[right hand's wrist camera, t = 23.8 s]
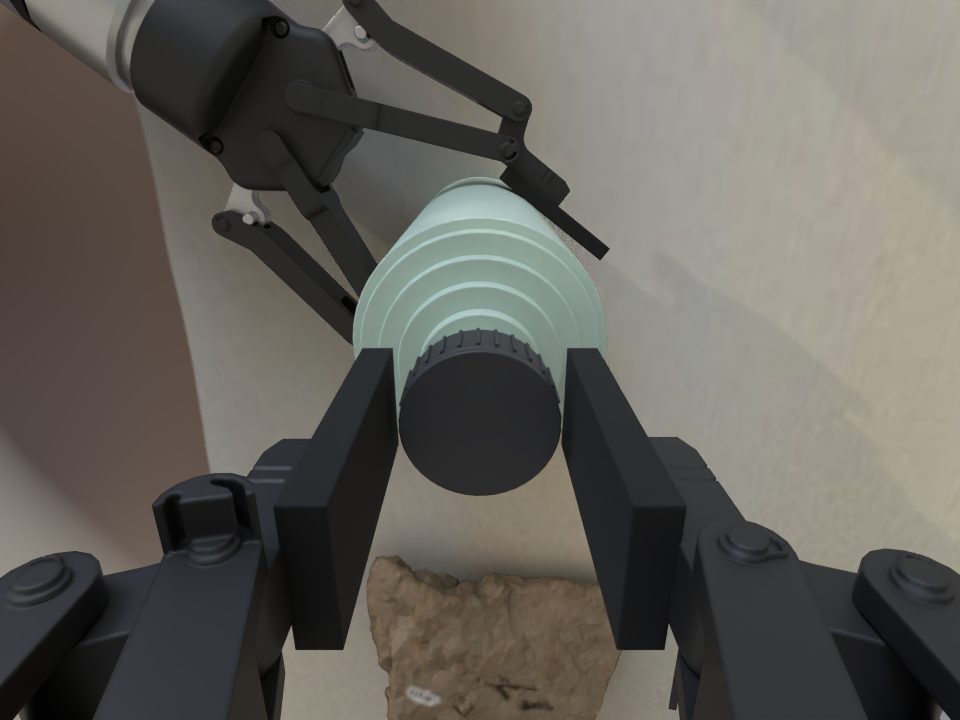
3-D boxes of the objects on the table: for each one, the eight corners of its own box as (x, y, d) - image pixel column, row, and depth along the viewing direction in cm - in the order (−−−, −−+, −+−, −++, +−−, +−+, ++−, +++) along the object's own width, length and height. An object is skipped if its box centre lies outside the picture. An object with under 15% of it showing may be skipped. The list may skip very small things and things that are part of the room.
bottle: (402, 281, 37) (281, 501, 15) (438, 158, 35) (357, 192, 12) (517, 318, 38) (572, 580, 16) (561, 201, 36) (706, 310, 13)
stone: (347, 707, 47) (345, 770, 41) (370, 540, 45) (371, 581, 39) (582, 703, 52) (610, 759, 46) (612, 552, 50) (645, 591, 44)
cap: (387, 440, 15) (377, 473, 13) (428, 306, 14) (422, 326, 12) (525, 479, 15) (530, 515, 14) (577, 353, 14) (589, 378, 13)
